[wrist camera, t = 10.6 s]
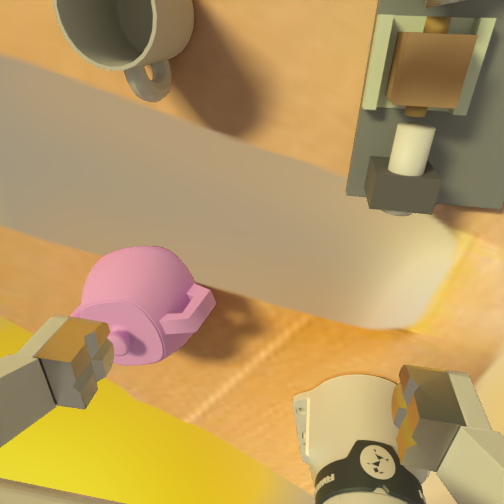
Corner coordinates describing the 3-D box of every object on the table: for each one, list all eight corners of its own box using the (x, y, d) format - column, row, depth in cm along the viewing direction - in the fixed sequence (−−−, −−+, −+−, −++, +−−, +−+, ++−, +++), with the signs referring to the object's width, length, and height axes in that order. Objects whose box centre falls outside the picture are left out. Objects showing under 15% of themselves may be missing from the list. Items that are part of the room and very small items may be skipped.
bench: (495, 204, 36) (525, 234, 31) (345, 190, 38) (349, 217, 32) (625, -122, 24) (708, -163, 19) (398, -120, 26) (417, -157, 21)
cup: (183, -50, 30) (135, -75, 22) (212, 86, 35) (181, 103, 27) (103, -27, 32) (33, -43, 24) (141, 99, 36) (93, 118, 29)
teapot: (61, 253, 48) (-3, 308, 38) (205, 225, 42) (171, 282, 33) (108, 332, 54) (62, 396, 45) (240, 317, 48) (219, 387, 39)
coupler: (400, 16, 29) (412, 15, 25) (462, 18, 28) (483, 17, 24) (382, 108, 32) (390, 118, 28) (436, 111, 32) (451, 123, 28)
